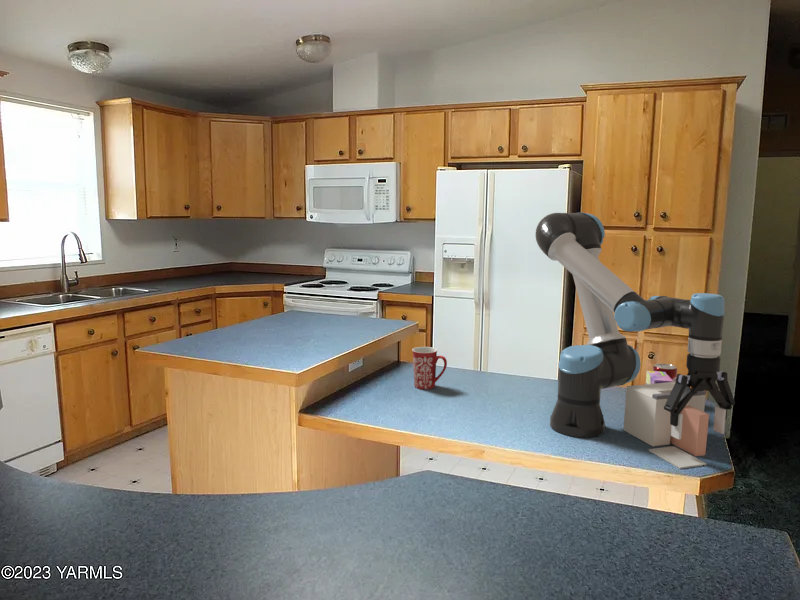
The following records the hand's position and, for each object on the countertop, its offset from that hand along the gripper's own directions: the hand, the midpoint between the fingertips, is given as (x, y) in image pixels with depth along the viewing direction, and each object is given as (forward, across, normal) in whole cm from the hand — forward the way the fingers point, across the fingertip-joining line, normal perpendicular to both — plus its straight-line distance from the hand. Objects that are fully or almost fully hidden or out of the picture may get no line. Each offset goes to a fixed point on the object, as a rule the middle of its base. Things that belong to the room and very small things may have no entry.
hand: (697, 434), depth 147 cm
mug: (+4, -49, +70) cm, 86 cm away
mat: (+5, -7, -1) cm, 9 cm away
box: (+5, +12, +28) cm, 31 cm away
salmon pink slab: (+5, 0, +4) cm, 7 cm away
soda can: (+5, +21, +36) cm, 42 cm away
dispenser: (+5, 0, +12) cm, 13 cm away
